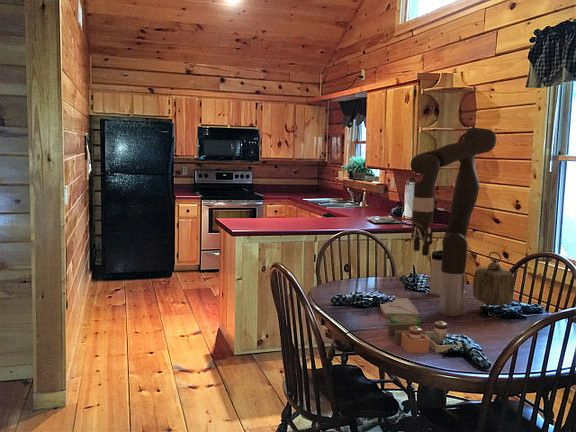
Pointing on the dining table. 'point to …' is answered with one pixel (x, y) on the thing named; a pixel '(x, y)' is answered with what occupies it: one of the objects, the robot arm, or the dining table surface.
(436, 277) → the travel mug
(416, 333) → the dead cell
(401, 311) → the envelope
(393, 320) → the tape roll
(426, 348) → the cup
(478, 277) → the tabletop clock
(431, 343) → the trough
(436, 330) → the cell
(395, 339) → the cradle
